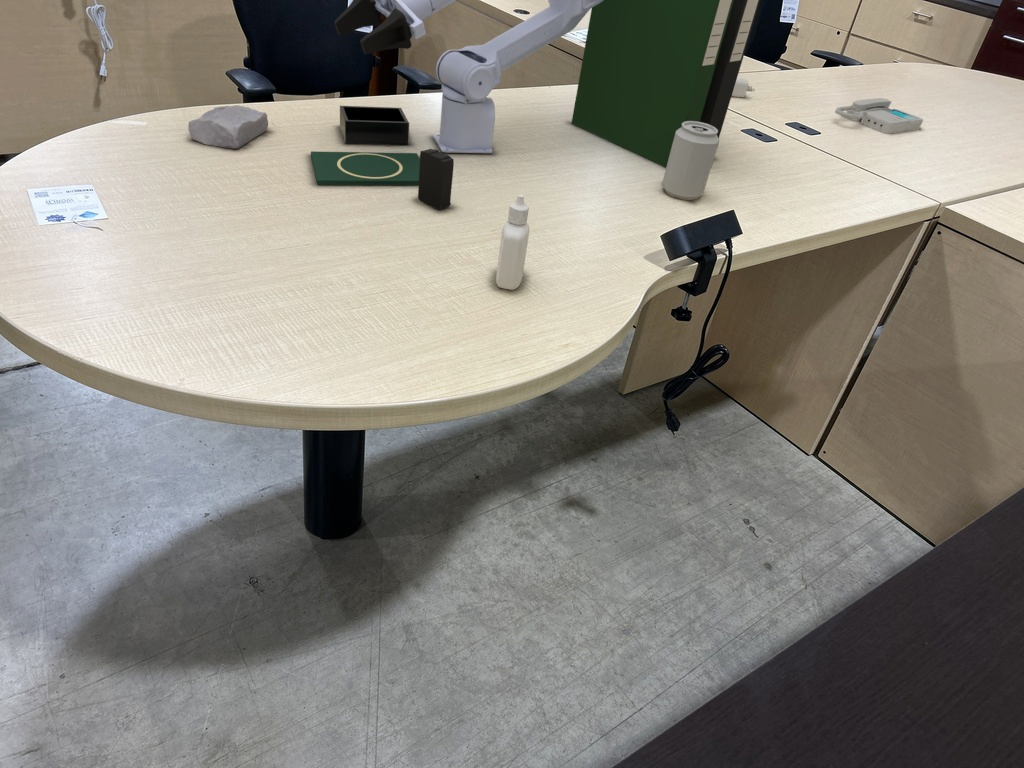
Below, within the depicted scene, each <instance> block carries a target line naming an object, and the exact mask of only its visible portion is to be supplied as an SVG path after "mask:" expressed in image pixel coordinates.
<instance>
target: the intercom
mask: <svg viewBox="0 0 1024 768" xmlns="http://www.w3.org/2000/svg"><path fill="white" fill-rule="evenodd" d="M891 104H892V100H890V99H888V98H883V97H877V98H867V99H866V98H865V99H859V100H854V101H853V102H852V105H847V106H846V105H845V106H839V107H836V109H835V110H834V113H835V114H837V115H839V116H841V117H843V118H846V119H848V120H851V121H854V122H860V124H861V125H864V126H866V127H868V128H871V129H874V130H876V131H879V132H881V133H884V134H888V135H890V134H896V133H903V132H904V133H905V132H910V131H916V130H919V129H920V127H921V126H922V124H923V122H924V119H923V118H922V117H920V116H917V115H914V114H911V113H909V112H906V111H904V110H901V109H897V108H892V109H891V108H889V107H890V105H891Z"/></svg>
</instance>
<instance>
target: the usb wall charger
mask: <svg viewBox="0 0 1024 768" xmlns="http://www.w3.org/2000/svg"><path fill="white" fill-rule="evenodd" d="M755 91H756V89H755V88H753V86H752V85H751V86H750V83H749V80H747V79H745V78H742V77H737V80H736V83H735V86H734V90H733V93H732V96H731V98H732V97H733V98H742V99H744V98H745V97H746V95H747V92H751V93H753V92H755Z"/></svg>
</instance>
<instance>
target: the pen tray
mask: <svg viewBox="0 0 1024 768" xmlns="http://www.w3.org/2000/svg"><path fill="white" fill-rule="evenodd" d="M339 129H340V132H341V135H342V138H343V140H344V144H346V145H385V146H386V145H387V146H388V145H391V146H392V145H393V146H408V145H409V136H410V135H409V134H410V122H409V119H408V117H407V116H406V114H405V113H404V111H403V109H402V107H393V106H391V107H390V106H387V107H386V106H365V105H364V106H361V105H359V106H357V105H339Z"/></svg>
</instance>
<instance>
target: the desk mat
mask: <svg viewBox="0 0 1024 768" xmlns="http://www.w3.org/2000/svg"><path fill="white" fill-rule="evenodd" d="M310 158H311V162H312V166H313V171H314V176H315V179H316V184H317V186H419V170H420V155H419V154H418V153H417V152H373V151H371V152H369V151H368V152H367V151H312V150H311V151H310Z"/></svg>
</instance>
